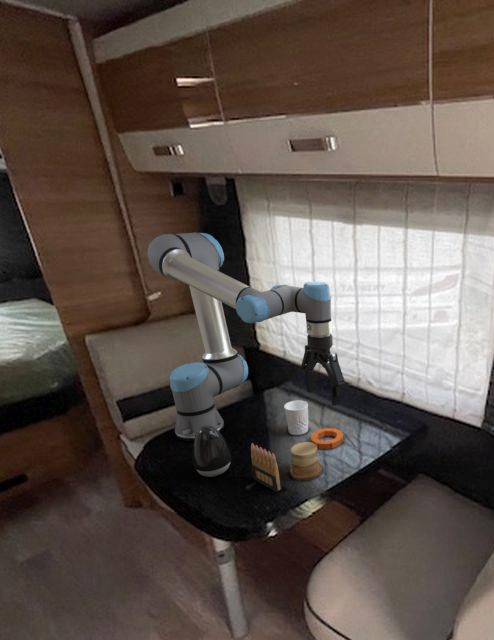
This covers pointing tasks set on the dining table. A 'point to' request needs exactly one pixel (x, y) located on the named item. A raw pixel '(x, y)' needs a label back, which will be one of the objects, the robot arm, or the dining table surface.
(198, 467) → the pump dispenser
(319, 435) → the orange ring
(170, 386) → the robot arm
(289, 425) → the white cup
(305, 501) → the dining table surface
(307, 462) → the stacking tower
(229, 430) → the dining table surface
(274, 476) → the ammunition clip
